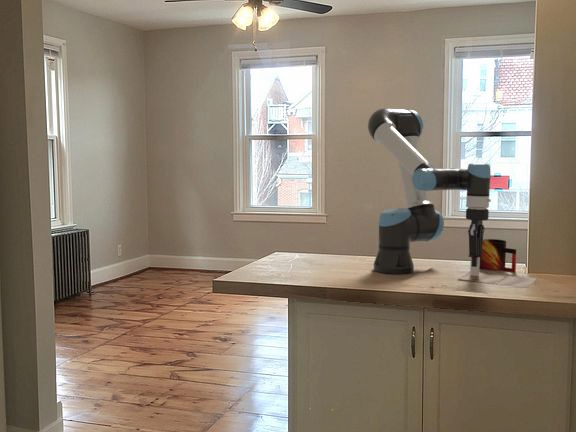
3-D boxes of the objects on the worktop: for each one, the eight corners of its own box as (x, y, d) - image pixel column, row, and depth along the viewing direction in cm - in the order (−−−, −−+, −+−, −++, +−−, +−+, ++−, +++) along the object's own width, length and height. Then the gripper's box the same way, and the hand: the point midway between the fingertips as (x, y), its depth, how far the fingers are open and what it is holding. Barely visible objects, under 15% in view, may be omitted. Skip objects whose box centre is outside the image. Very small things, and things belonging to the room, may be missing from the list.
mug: (515, 276, 221) (516, 244, 220) (476, 273, 227) (477, 241, 226) (518, 272, 230) (519, 240, 229) (480, 269, 236) (481, 238, 235)
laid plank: (495, 287, 200) (495, 284, 200) (506, 278, 215) (506, 275, 215) (527, 291, 195) (527, 287, 195) (536, 281, 210) (537, 278, 210)
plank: (457, 282, 206) (458, 278, 206) (471, 273, 222) (472, 270, 222) (494, 287, 200) (494, 284, 200) (505, 278, 216) (506, 275, 215)
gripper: (483, 210, 202) (480, 279, 205) (493, 207, 213) (490, 273, 216) (461, 208, 206) (458, 277, 208) (471, 206, 217) (468, 271, 220)
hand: (474, 275), depth 212 cm, fingers closed
